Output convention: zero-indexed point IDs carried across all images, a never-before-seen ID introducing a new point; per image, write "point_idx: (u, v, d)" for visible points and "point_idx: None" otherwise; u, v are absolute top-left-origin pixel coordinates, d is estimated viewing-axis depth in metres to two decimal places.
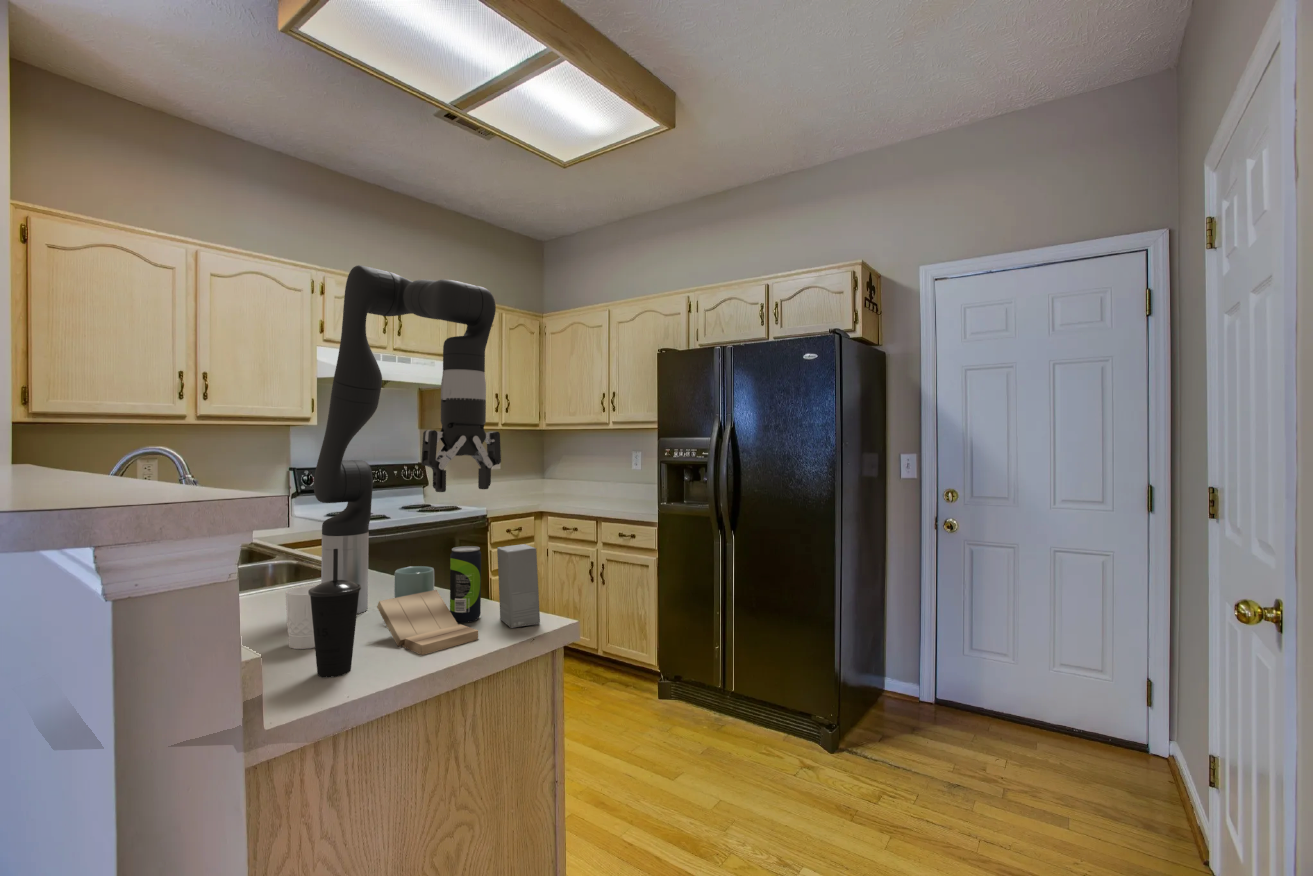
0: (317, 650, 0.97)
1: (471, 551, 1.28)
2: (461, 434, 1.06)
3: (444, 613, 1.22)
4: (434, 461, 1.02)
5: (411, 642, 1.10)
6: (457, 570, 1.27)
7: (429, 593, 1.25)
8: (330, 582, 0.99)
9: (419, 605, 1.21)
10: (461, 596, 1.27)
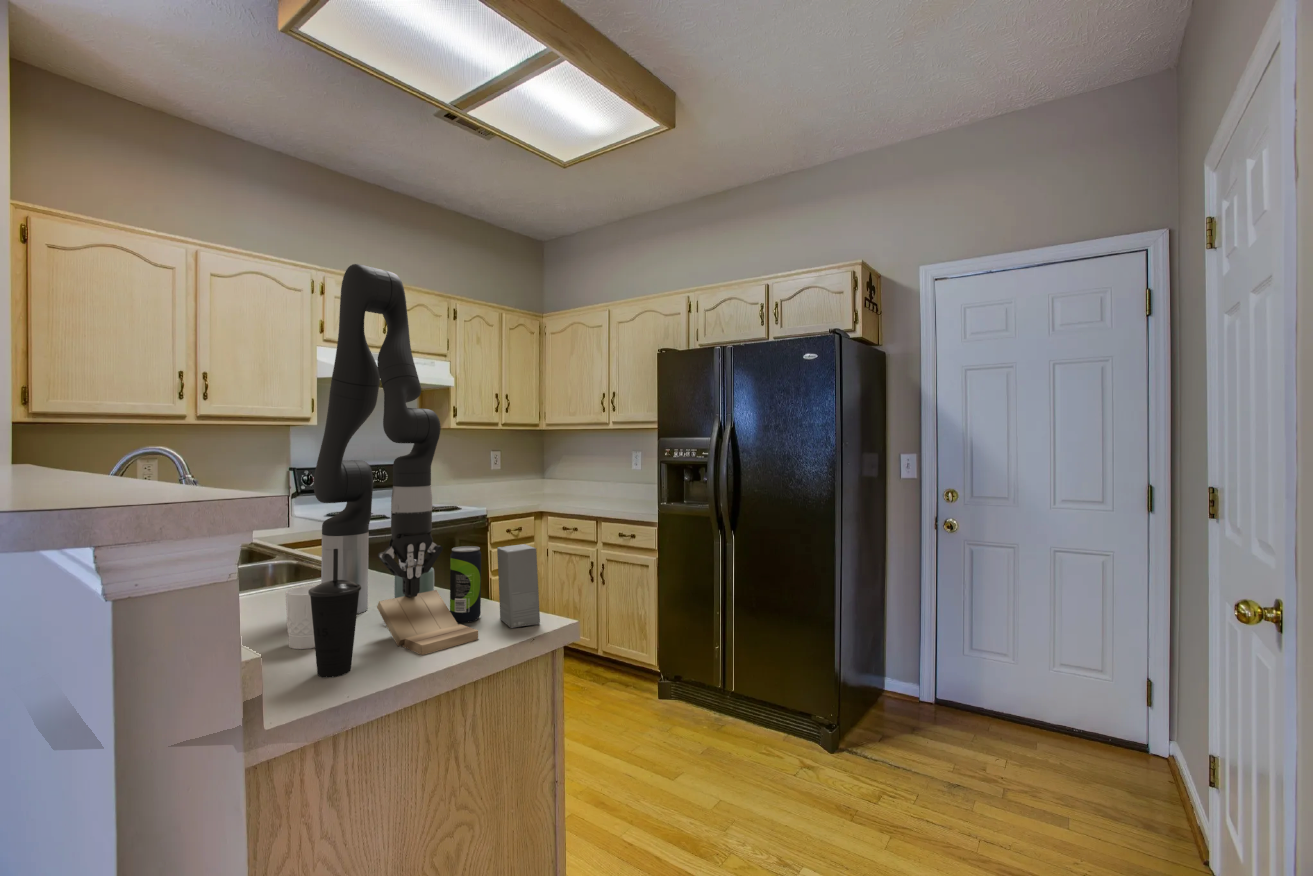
0: (317, 650, 0.97)
1: (471, 551, 1.28)
2: (406, 543, 1.19)
3: (444, 613, 1.22)
4: (403, 572, 1.19)
5: (411, 642, 1.10)
6: (457, 570, 1.27)
7: (429, 593, 1.25)
8: (330, 582, 0.99)
9: (419, 605, 1.21)
10: (461, 596, 1.27)
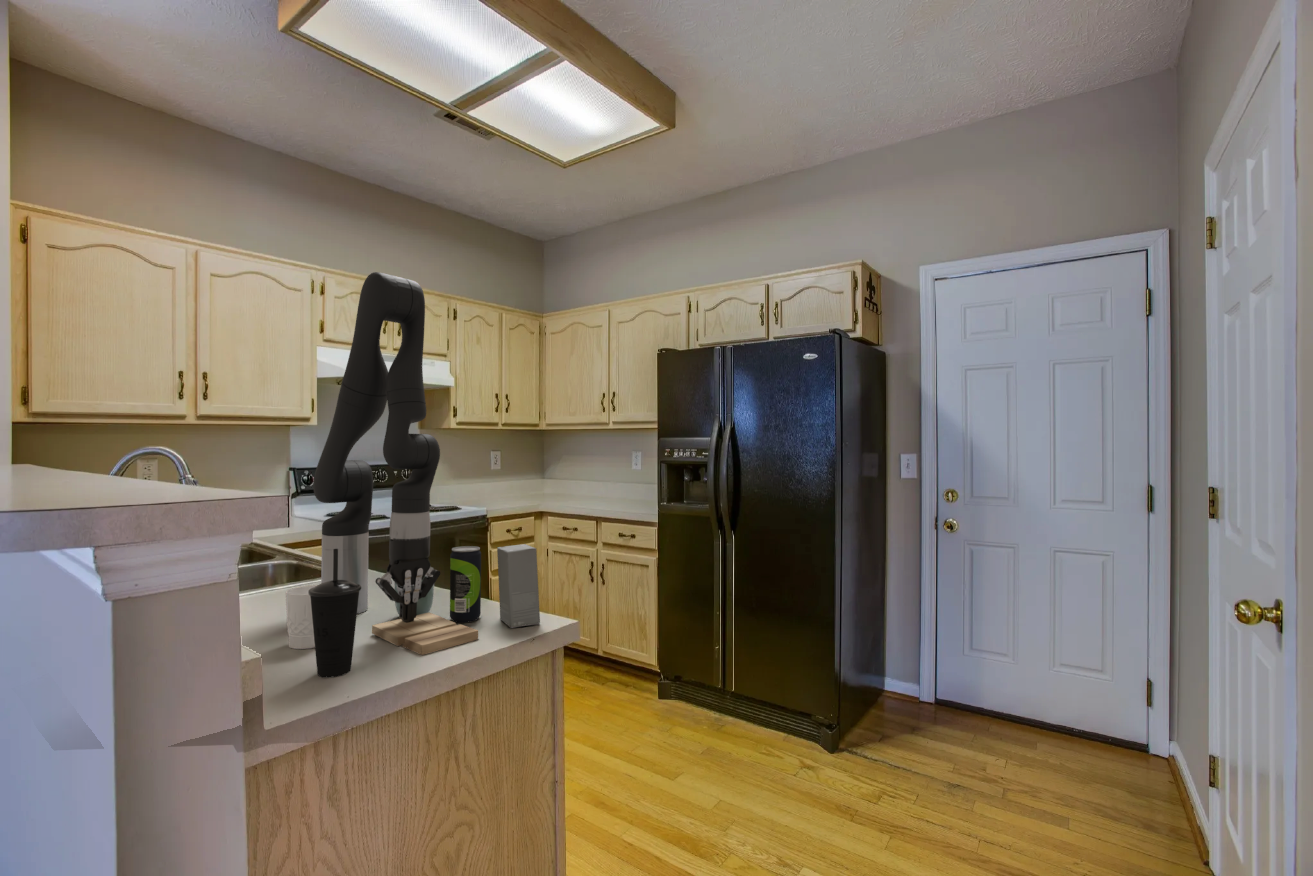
0: (317, 650, 0.97)
1: (471, 551, 1.28)
2: (404, 569, 1.20)
3: (440, 620, 1.23)
4: (400, 598, 1.19)
5: (411, 642, 1.10)
6: (457, 570, 1.27)
7: (422, 614, 1.26)
8: (330, 582, 0.99)
9: (413, 621, 1.22)
10: (461, 596, 1.27)
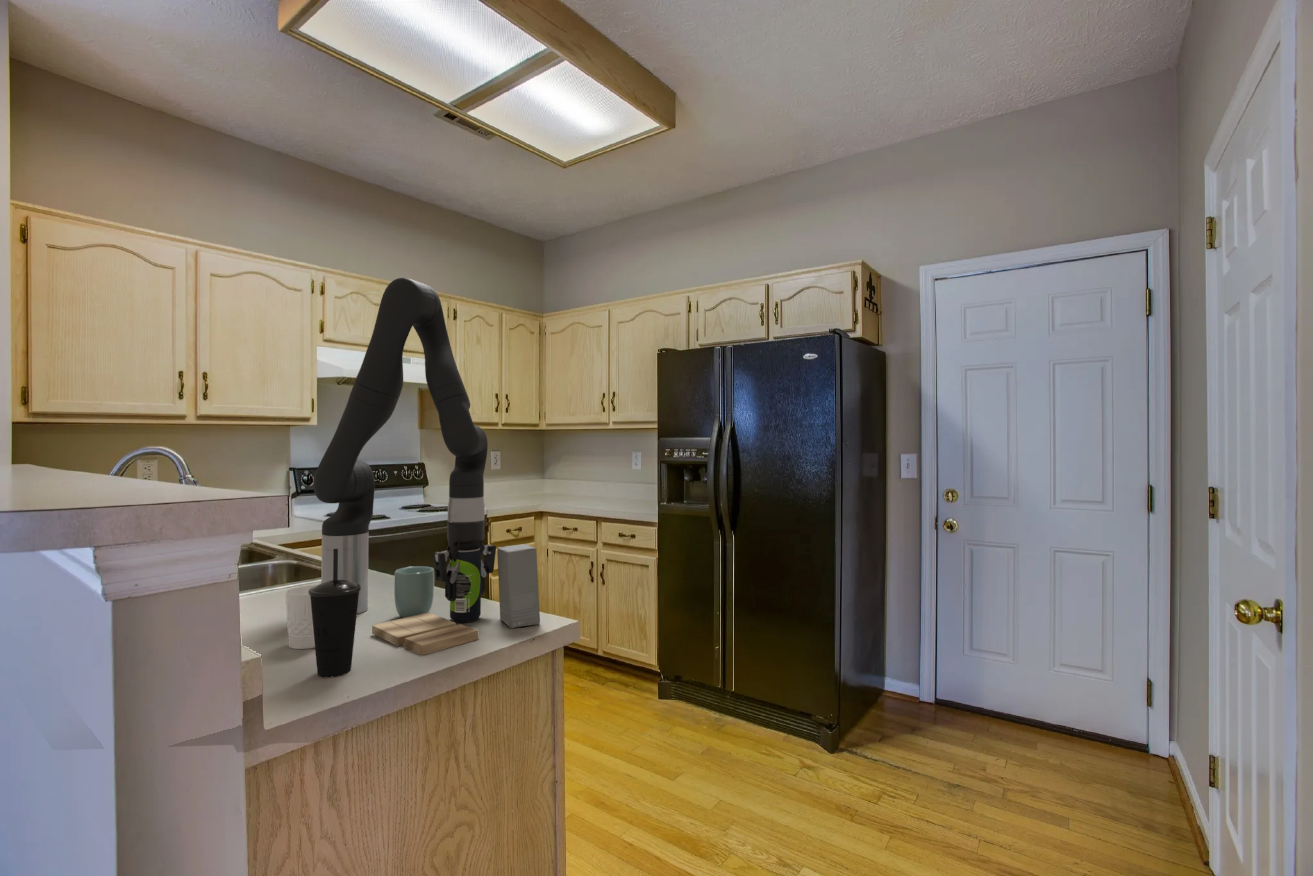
0: (317, 650, 0.97)
1: (471, 551, 1.28)
2: (463, 549, 1.29)
3: (440, 620, 1.23)
4: (446, 577, 1.25)
5: (411, 642, 1.10)
6: None
7: (422, 614, 1.26)
8: (330, 582, 0.99)
9: (413, 621, 1.22)
10: (461, 596, 1.27)
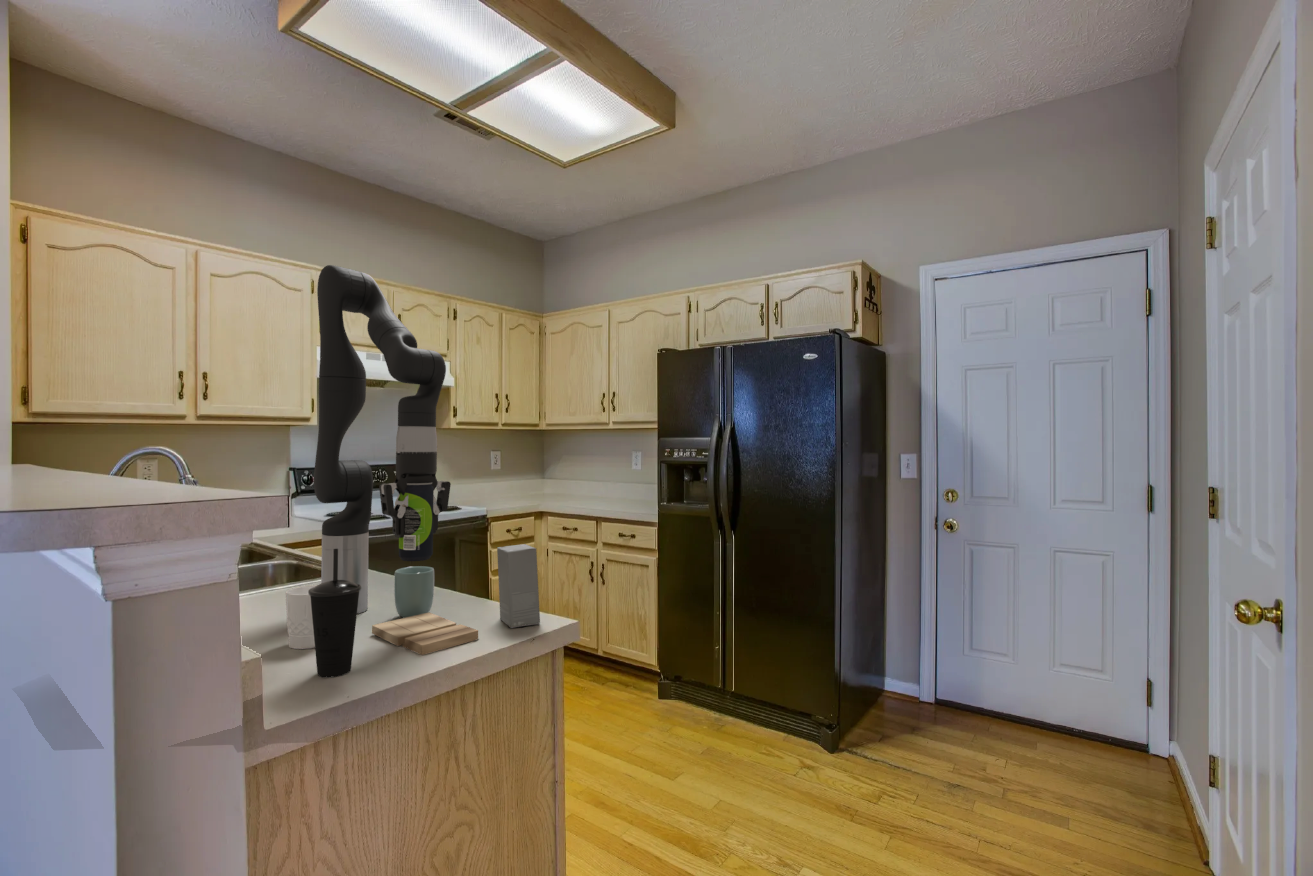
0: (317, 650, 0.97)
1: (421, 484, 1.19)
2: None
3: (440, 620, 1.23)
4: (393, 511, 1.16)
5: (411, 642, 1.10)
6: None
7: (422, 614, 1.26)
8: (330, 582, 0.99)
9: (413, 621, 1.22)
10: (410, 533, 1.18)
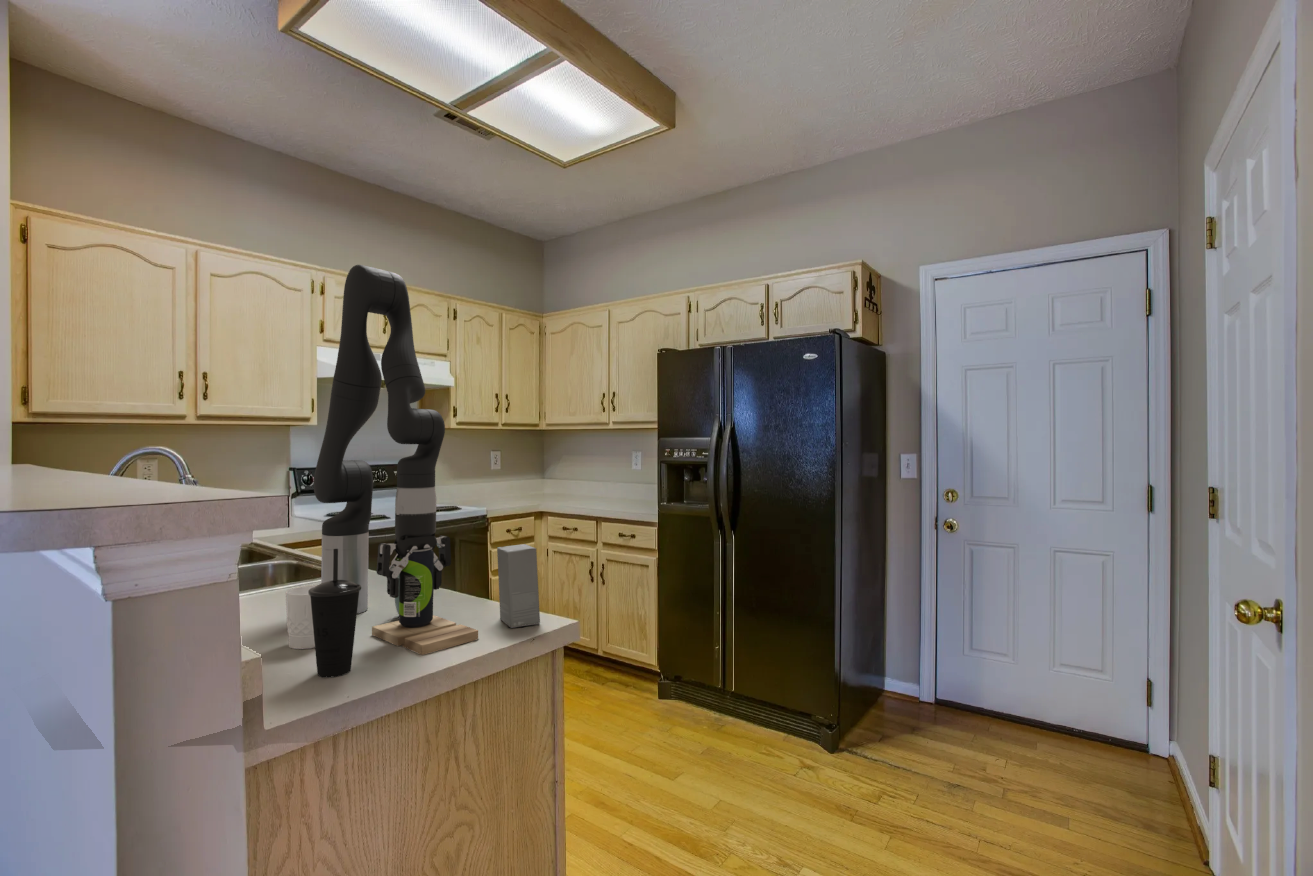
0: (317, 650, 0.97)
1: (422, 551, 1.18)
2: (413, 544, 1.19)
3: (439, 620, 1.23)
4: (387, 572, 1.15)
5: (411, 642, 1.10)
6: (406, 571, 1.18)
7: None
8: (330, 582, 0.99)
9: None
10: (410, 599, 1.18)
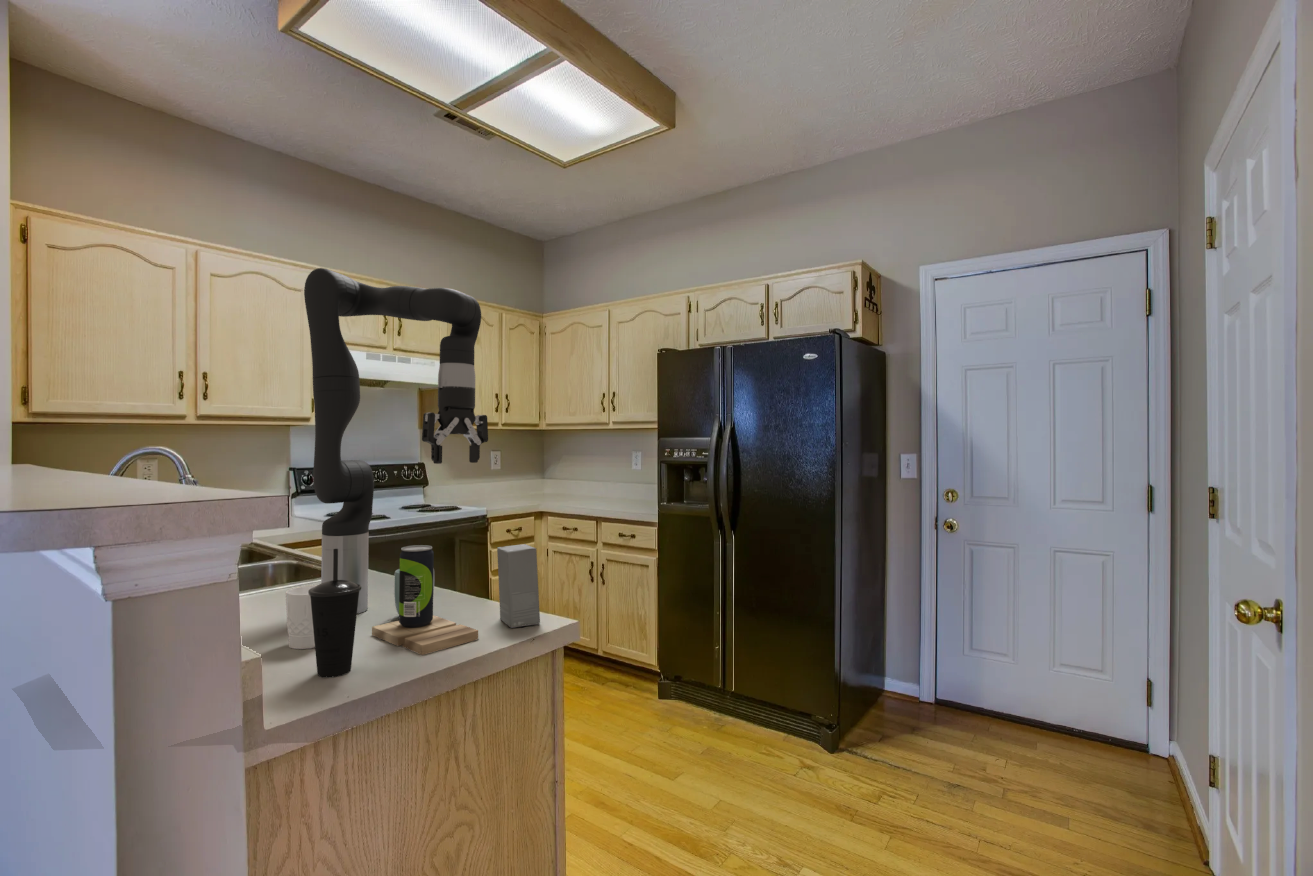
0: (317, 650, 0.97)
1: (422, 550, 1.19)
2: (455, 416, 1.28)
3: (439, 620, 1.23)
4: (432, 438, 1.24)
5: (411, 642, 1.10)
6: (406, 571, 1.18)
7: None
8: (330, 582, 0.99)
9: None
10: (410, 599, 1.18)
